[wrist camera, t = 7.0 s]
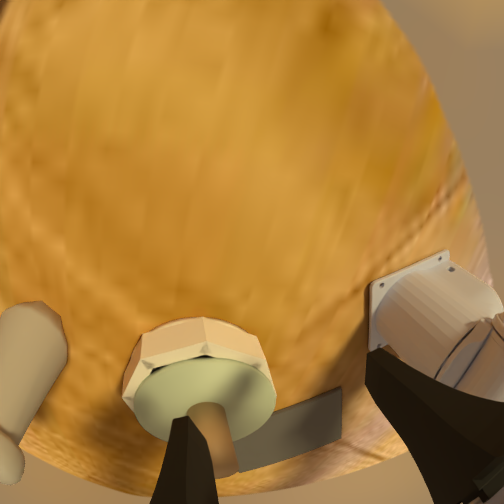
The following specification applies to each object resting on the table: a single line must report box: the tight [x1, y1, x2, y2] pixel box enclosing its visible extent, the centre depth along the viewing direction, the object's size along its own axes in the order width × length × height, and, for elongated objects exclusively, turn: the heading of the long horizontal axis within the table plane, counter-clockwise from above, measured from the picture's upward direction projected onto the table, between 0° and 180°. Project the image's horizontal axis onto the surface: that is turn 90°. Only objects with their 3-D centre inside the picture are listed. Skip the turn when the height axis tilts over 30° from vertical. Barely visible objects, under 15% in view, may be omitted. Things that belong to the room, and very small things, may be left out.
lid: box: [134, 357, 276, 479], centre depth 17 cm, size 10×10×6 cm
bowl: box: [122, 317, 277, 413], centre depth 21 cm, size 11×11×3 cm
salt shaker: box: [0, 301, 67, 485], centre depth 12 cm, size 6×6×13 cm
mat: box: [233, 387, 342, 473], centre depth 29 cm, size 14×12×1 cm
